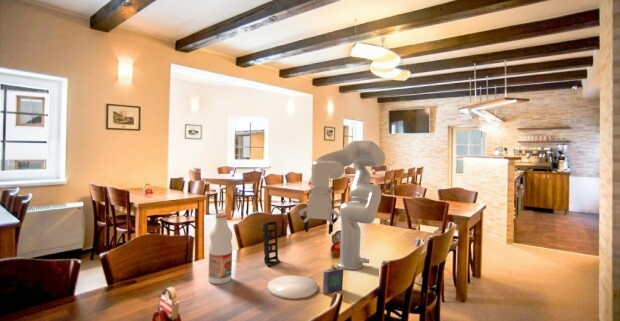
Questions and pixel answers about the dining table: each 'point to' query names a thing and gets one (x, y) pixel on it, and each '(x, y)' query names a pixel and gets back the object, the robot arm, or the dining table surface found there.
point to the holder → (266, 244)
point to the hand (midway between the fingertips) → (318, 232)
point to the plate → (292, 287)
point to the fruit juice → (220, 251)
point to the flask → (332, 280)
